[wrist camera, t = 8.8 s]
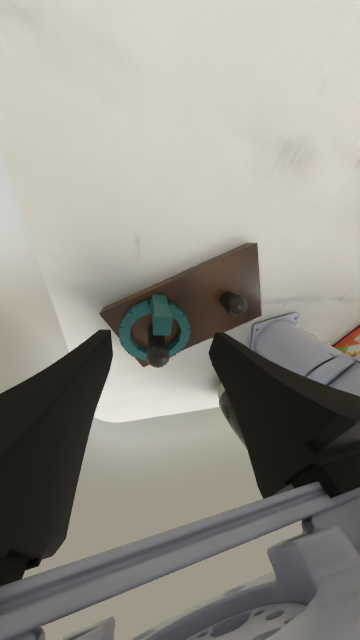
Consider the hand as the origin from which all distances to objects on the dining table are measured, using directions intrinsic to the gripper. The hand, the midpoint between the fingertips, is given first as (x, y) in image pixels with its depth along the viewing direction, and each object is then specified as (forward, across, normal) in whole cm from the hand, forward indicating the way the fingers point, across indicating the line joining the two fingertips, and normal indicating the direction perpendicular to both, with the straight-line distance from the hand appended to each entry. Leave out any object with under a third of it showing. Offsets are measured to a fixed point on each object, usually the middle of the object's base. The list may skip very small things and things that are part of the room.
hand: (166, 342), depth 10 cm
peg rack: (+9, -4, +1) cm, 10 cm away
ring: (+8, 0, +4) cm, 8 cm away
